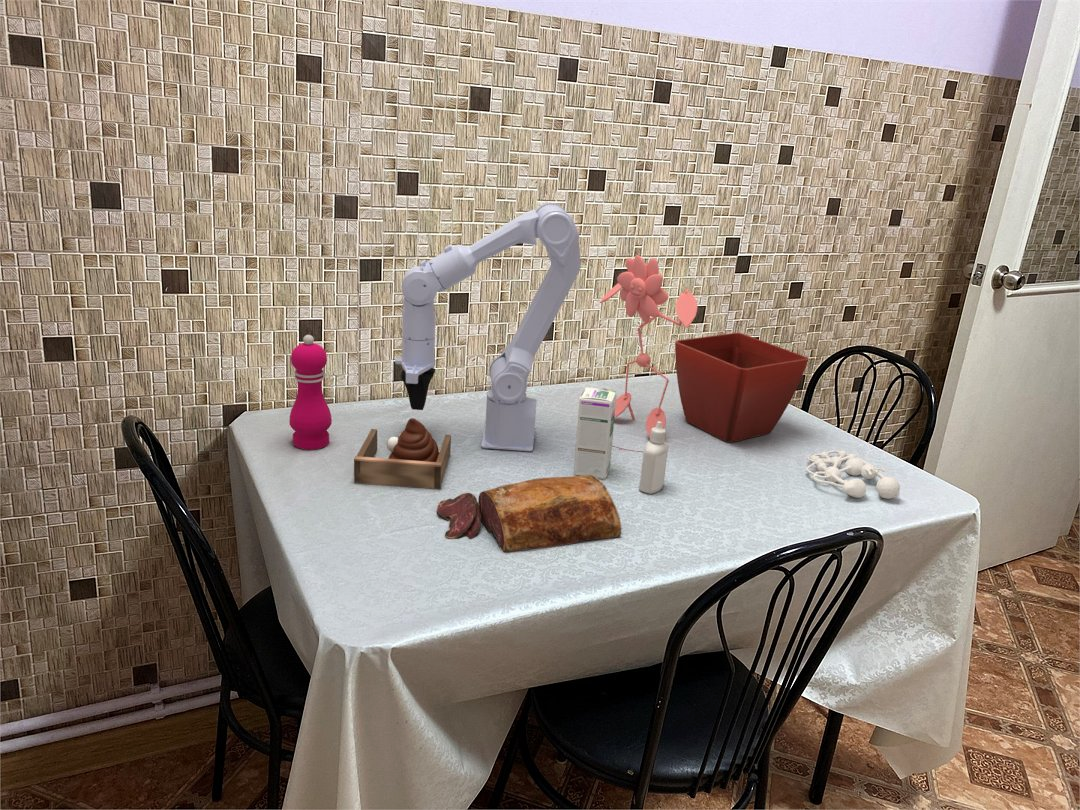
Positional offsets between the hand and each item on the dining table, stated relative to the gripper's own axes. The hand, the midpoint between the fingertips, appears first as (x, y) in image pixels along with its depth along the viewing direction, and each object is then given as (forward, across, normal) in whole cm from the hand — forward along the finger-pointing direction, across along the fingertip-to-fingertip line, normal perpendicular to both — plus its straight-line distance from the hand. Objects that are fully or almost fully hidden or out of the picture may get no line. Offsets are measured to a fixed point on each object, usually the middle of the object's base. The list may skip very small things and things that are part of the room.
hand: (417, 408), depth 153 cm
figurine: (+7, -11, +39) cm, 41 cm away
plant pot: (+7, -18, +61) cm, 64 cm away
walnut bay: (+6, +12, 0) cm, 14 cm away
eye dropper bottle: (+7, +13, +42) cm, 44 cm away
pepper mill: (+6, +5, -18) cm, 20 cm away
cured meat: (+7, +28, +20) cm, 36 cm away
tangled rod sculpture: (+7, +4, +78) cm, 78 cm away
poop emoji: (+6, +12, +1) cm, 14 cm away
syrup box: (+7, +8, +32) cm, 33 cm away
